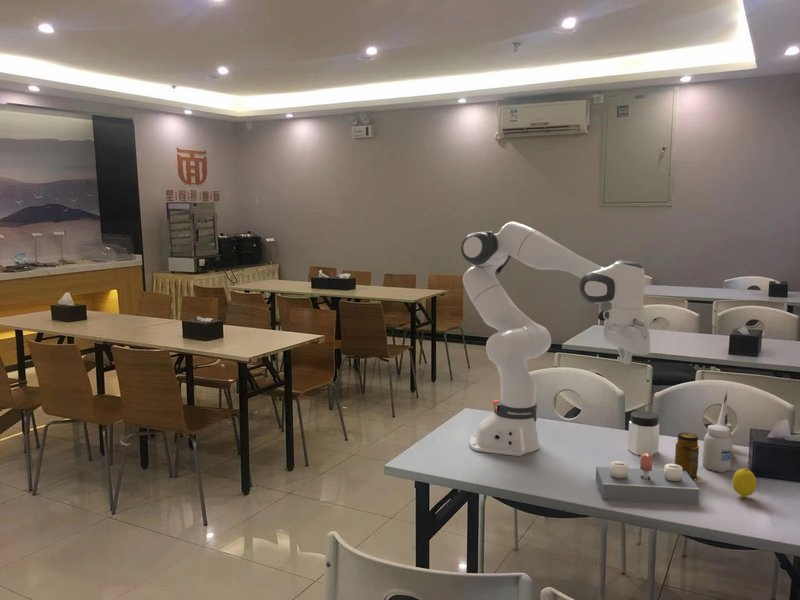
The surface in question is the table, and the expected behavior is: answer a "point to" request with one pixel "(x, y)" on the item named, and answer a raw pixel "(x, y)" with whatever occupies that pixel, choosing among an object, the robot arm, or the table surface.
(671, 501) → the mount
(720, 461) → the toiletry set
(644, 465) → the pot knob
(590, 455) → the table surface
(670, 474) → the knob
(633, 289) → the robot arm
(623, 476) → the knob
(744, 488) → the lemon
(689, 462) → the condiment
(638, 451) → the jar
